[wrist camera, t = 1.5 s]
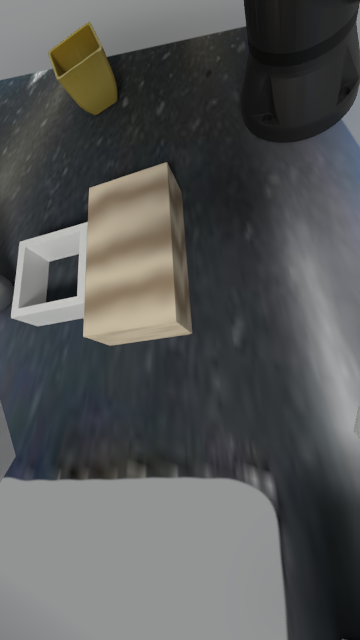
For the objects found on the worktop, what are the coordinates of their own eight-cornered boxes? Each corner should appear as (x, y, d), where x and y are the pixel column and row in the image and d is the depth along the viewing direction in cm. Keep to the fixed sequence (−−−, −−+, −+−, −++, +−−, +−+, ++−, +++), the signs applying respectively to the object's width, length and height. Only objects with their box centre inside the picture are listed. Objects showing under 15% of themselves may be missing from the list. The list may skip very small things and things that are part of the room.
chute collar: (44, 256, 50) (19, 242, 45) (107, 239, 46) (87, 221, 41) (37, 326, 46) (10, 317, 41) (105, 314, 42) (84, 303, 38)
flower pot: (117, 75, 56) (89, 19, 48) (130, 101, 53) (102, 46, 45) (80, 101, 58) (47, 51, 50) (90, 128, 55) (56, 79, 47)
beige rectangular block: (111, 213, 47) (89, 188, 42) (181, 192, 44) (166, 162, 38) (110, 345, 41) (83, 336, 35) (192, 333, 37) (176, 321, 32)
